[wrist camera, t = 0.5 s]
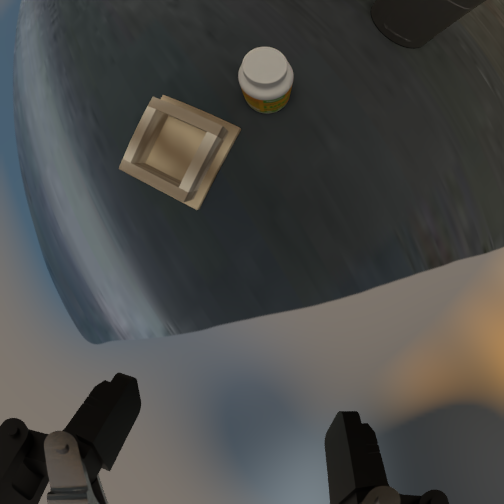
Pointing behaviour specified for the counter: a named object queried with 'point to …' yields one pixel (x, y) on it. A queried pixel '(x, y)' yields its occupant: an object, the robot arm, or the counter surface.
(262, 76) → the supplement bottle
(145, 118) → the open square wooden box
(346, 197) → the counter surface
